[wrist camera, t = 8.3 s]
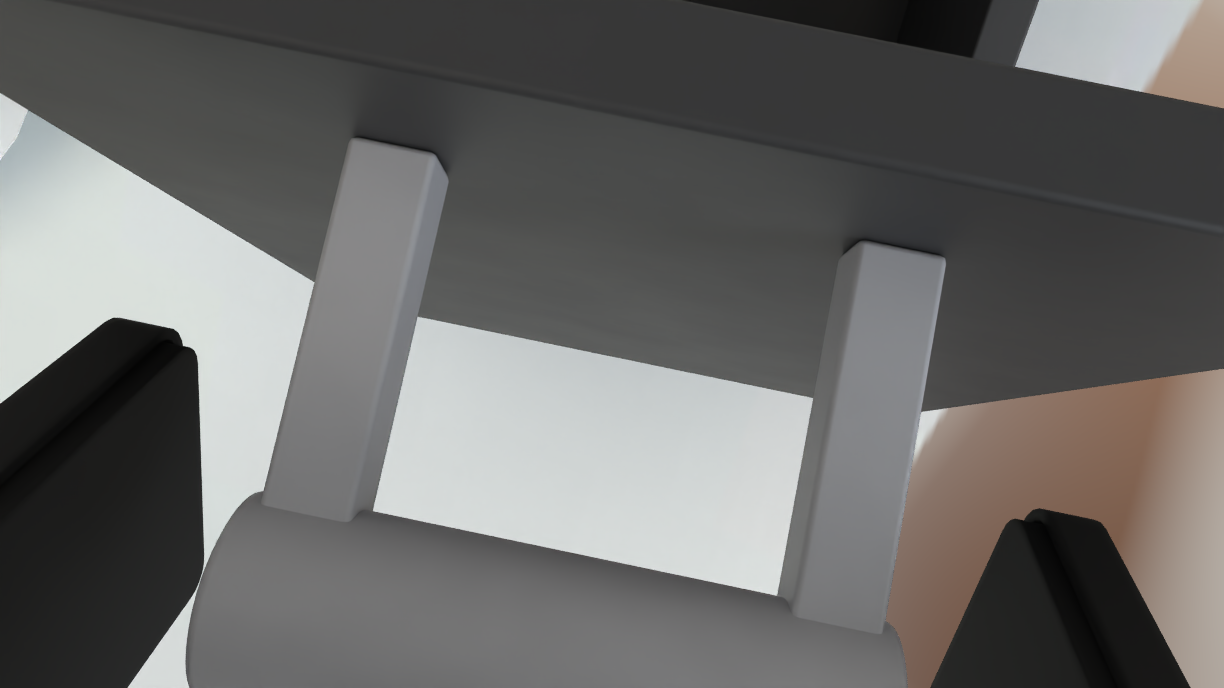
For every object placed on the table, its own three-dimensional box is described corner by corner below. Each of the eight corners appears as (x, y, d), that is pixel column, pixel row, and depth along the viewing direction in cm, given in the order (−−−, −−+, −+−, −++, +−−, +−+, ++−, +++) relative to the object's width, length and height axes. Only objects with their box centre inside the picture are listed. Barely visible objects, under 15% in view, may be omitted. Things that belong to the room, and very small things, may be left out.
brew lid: (-234, -189, 6) (-515, 660, 6) (1635, 185, 6) (1552, 1106, 5) (354, 264, 20) (294, 513, 20) (906, 377, 20) (862, 632, 20)
